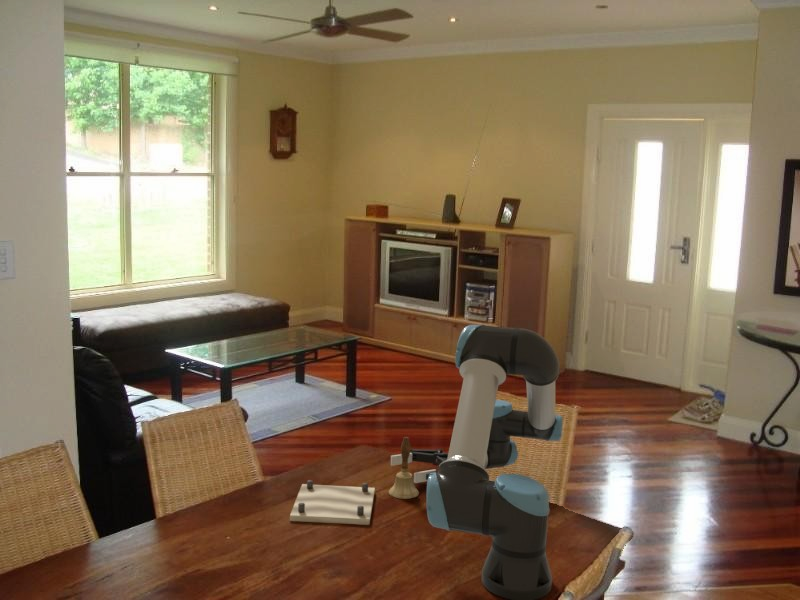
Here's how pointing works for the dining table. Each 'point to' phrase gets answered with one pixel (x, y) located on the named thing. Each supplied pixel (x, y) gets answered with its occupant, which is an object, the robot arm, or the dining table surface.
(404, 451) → the hand bell
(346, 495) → the board
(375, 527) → the dining table surface
